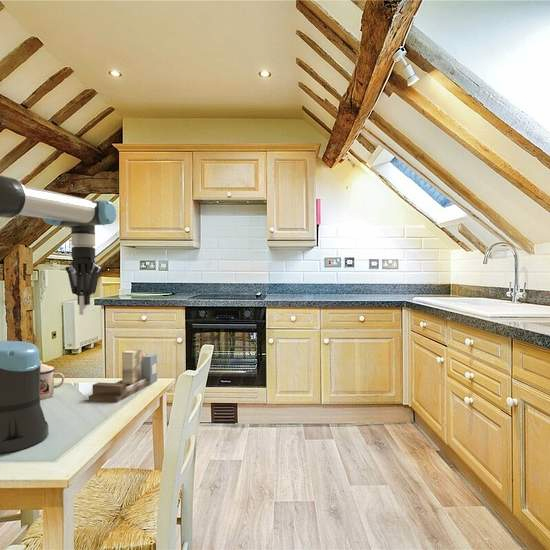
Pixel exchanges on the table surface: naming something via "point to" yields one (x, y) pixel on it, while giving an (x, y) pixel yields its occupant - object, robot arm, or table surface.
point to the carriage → (131, 366)
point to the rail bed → (116, 390)
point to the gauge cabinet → (149, 367)
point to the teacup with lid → (48, 381)
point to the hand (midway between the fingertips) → (83, 314)
